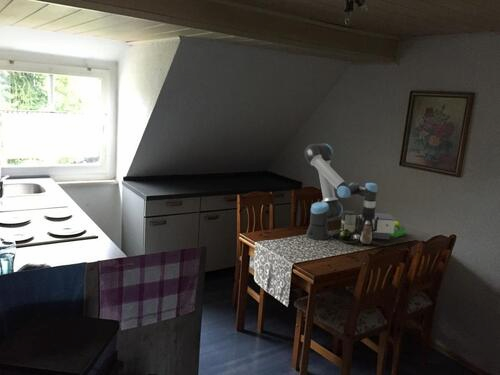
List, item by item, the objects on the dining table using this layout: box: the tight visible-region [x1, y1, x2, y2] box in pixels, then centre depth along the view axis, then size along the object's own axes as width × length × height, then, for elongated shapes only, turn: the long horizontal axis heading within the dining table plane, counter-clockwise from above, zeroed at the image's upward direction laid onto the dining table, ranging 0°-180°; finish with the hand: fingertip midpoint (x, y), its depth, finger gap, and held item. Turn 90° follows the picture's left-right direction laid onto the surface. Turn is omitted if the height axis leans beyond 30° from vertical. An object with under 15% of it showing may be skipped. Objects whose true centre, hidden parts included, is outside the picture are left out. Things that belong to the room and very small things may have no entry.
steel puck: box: [352, 233, 361, 241], centre depth 289 cm, size 4×4×3 cm
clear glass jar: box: [340, 209, 357, 233], centre depth 308 cm, size 10×10×14 cm
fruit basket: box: [390, 219, 407, 238], centre depth 302 cm, size 11×9×11 cm
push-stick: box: [360, 224, 372, 245], centre depth 282 cm, size 5×15×12 cm, turn 176°
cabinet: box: [362, 212, 397, 240], centre depth 289 cm, size 19×16×17 cm
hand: (365, 240), depth 278 cm, fingers closed on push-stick, 5 cm apart
